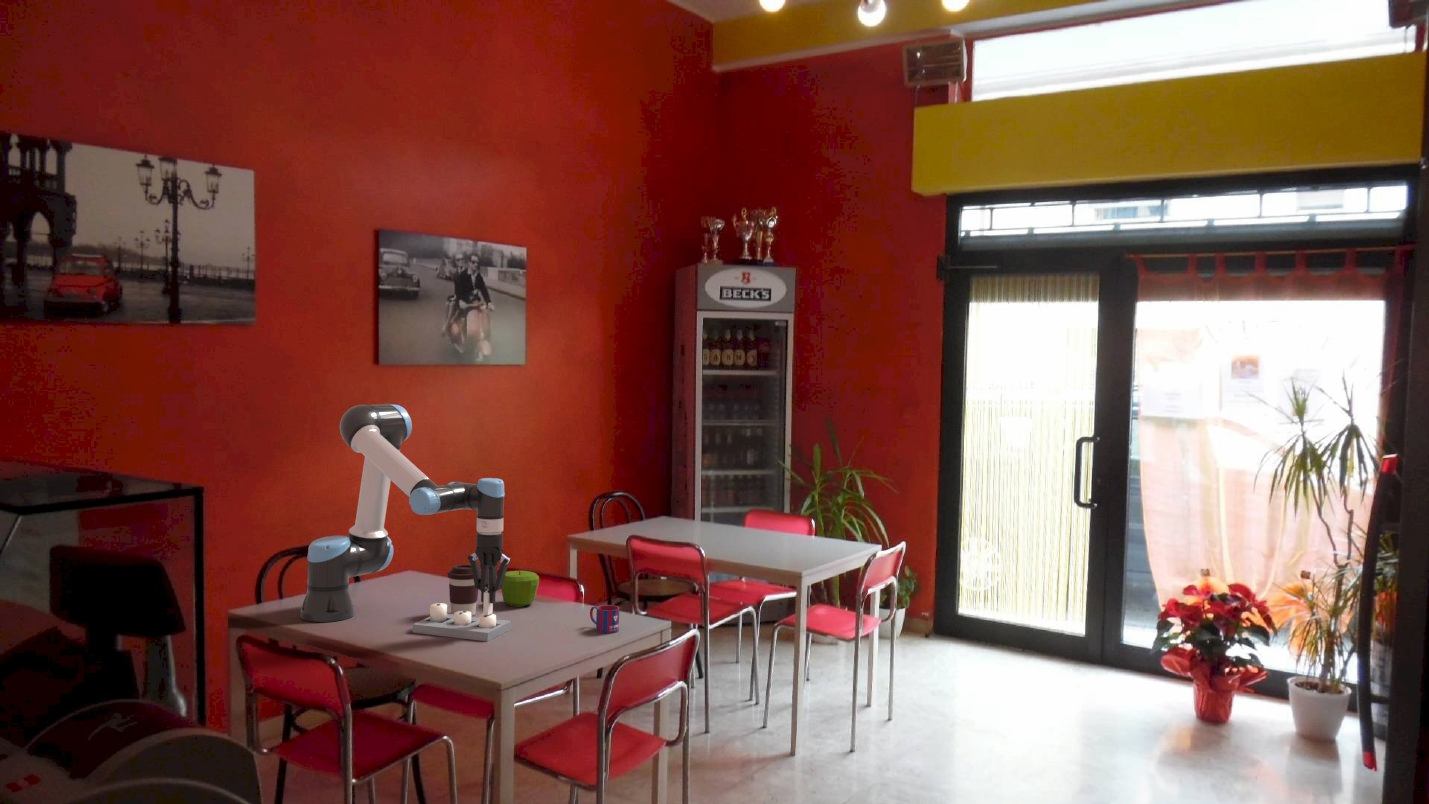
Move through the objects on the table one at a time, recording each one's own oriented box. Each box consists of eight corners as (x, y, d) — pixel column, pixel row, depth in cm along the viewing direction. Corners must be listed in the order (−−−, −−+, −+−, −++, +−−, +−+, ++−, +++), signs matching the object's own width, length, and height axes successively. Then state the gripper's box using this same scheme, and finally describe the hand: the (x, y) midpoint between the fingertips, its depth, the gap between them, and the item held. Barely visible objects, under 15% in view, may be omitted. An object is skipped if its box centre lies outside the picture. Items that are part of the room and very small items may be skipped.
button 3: (475, 632, 280) (476, 615, 280) (483, 627, 285) (484, 611, 284) (490, 633, 279) (491, 617, 279) (498, 629, 283) (499, 613, 283)
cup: (606, 634, 285) (607, 611, 285) (583, 628, 291) (584, 605, 291) (623, 630, 290) (624, 607, 290) (600, 624, 296) (601, 601, 296)
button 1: (426, 621, 284) (426, 605, 284) (435, 617, 289) (435, 601, 289) (441, 622, 283) (441, 606, 283) (449, 619, 288) (450, 603, 287)
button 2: (450, 629, 282) (451, 613, 282) (459, 625, 287) (459, 609, 287) (465, 630, 281) (466, 614, 281) (474, 626, 285) (474, 610, 285)
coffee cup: (486, 614, 303) (487, 566, 303) (462, 620, 295) (463, 571, 294) (463, 609, 308) (465, 562, 308) (439, 615, 300) (440, 566, 300)
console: (412, 632, 280) (412, 624, 280) (438, 620, 294) (439, 612, 294) (487, 641, 274) (487, 632, 274) (511, 629, 287) (511, 620, 287)
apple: (544, 606, 315) (545, 571, 315) (508, 610, 308) (509, 575, 308) (528, 598, 326) (529, 564, 325) (493, 602, 319) (494, 567, 318)
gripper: (462, 532, 279) (460, 614, 280) (504, 536, 275) (502, 619, 276) (476, 528, 286) (474, 608, 287) (516, 532, 283) (514, 613, 283)
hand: (487, 613), depth 281 cm, fingers closed
